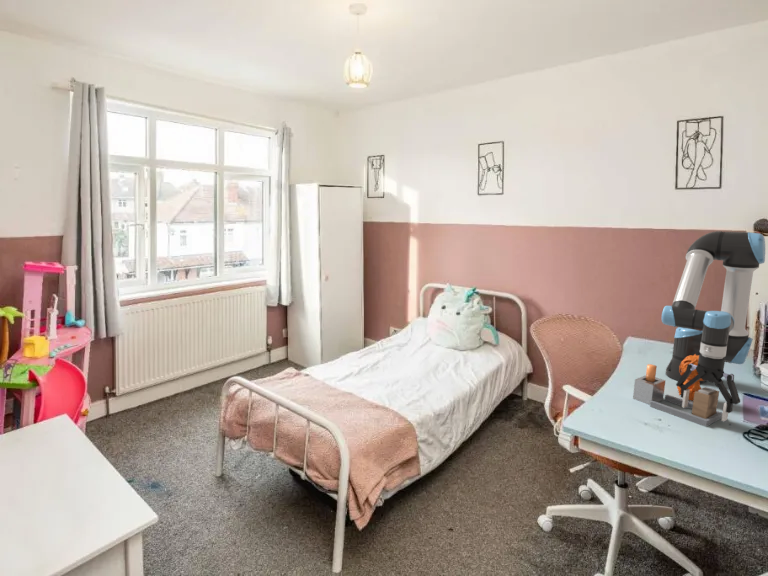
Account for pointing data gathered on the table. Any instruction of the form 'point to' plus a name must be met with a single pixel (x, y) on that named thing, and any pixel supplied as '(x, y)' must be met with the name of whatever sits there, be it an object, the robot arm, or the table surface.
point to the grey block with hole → (648, 390)
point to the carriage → (705, 402)
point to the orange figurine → (683, 367)
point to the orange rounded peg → (651, 373)
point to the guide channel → (684, 414)
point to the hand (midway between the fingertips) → (703, 413)
